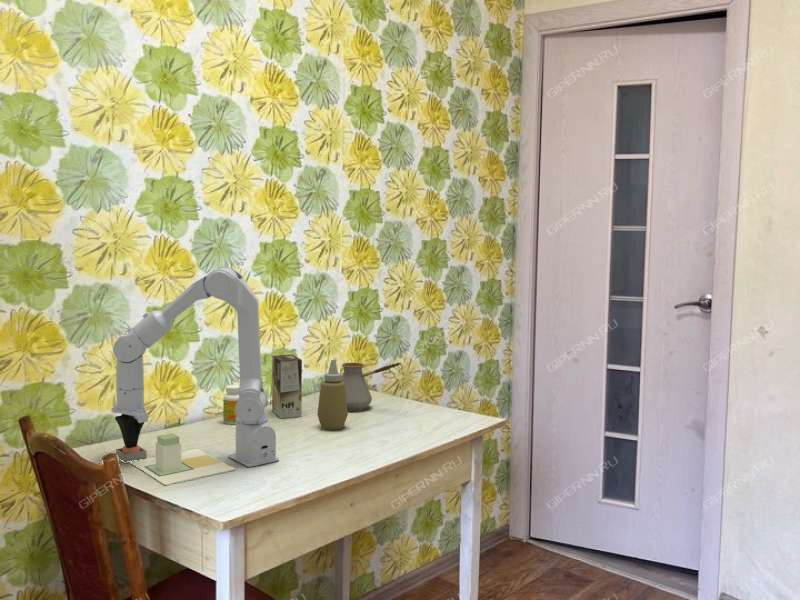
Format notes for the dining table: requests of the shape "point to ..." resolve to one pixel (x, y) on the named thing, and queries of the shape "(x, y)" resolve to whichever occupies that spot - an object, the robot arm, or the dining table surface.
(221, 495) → the dining table surface
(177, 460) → the beige boxy piece
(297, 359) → the coffee box
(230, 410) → the supplement bottle
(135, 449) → the button
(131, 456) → the button housing
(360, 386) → the coffee pot
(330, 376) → the squeeze bottle
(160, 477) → the paper board
